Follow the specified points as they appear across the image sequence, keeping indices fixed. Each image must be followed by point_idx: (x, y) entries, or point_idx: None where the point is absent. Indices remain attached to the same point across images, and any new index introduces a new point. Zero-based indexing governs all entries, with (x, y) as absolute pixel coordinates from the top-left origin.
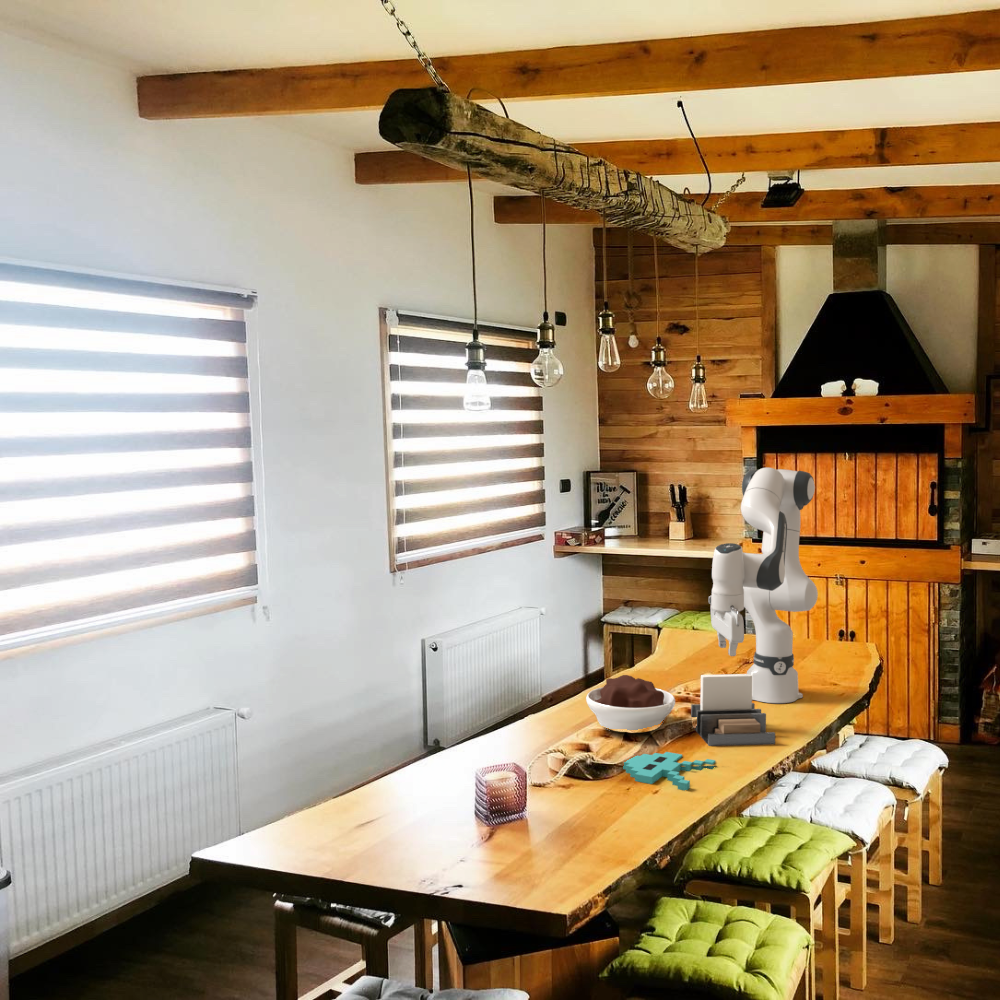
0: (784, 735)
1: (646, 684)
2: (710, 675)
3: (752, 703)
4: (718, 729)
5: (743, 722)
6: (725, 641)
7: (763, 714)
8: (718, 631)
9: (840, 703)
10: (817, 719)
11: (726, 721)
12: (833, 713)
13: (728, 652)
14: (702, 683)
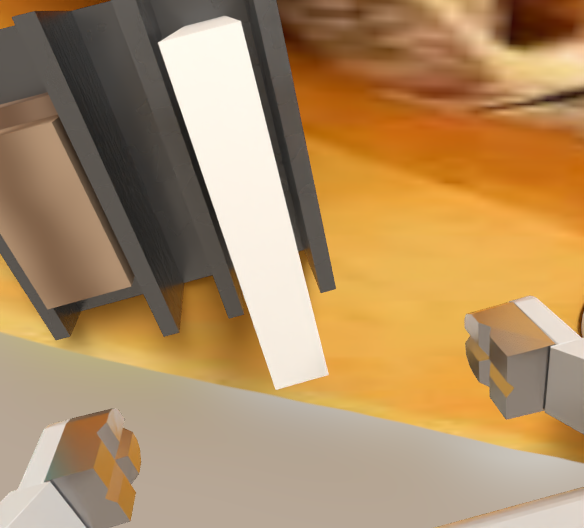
0: (239, 330)
1: None
2: (236, 118)
3: (326, 285)
4: (47, 112)
5: (48, 242)
6: (517, 411)
7: (159, 326)
8: (563, 516)
9: (557, 443)
10: (417, 403)
11: (30, 163)
12: (471, 433)
13: (94, 428)
14: (180, 34)
